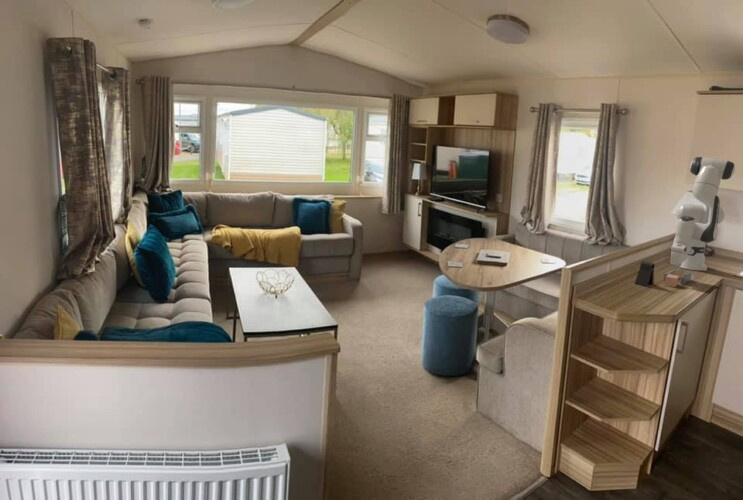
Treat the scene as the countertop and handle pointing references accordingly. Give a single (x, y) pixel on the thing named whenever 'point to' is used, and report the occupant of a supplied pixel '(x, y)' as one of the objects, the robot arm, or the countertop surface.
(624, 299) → the countertop surface
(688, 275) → the channel
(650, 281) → the phone stand
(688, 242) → the robot arm
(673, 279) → the block
